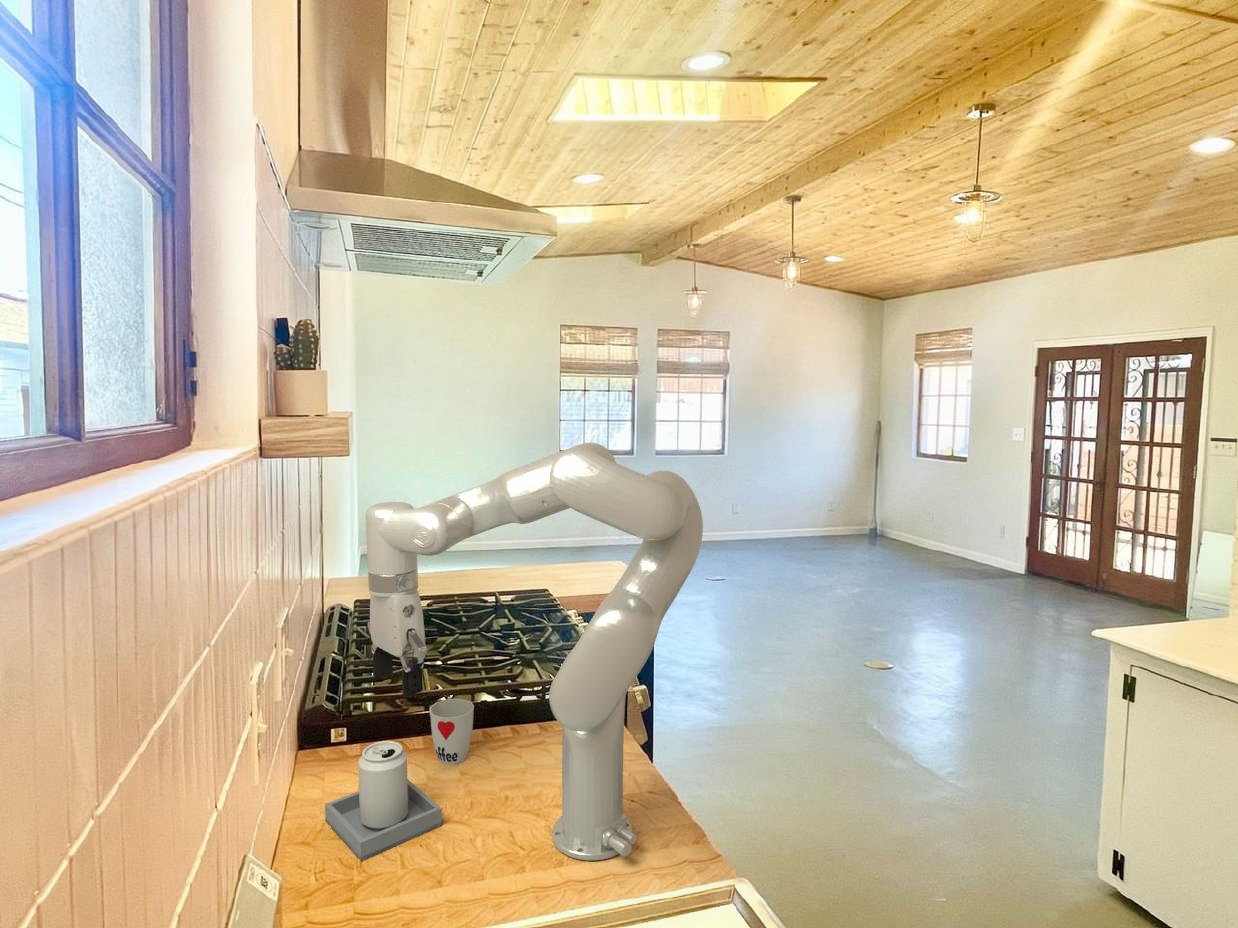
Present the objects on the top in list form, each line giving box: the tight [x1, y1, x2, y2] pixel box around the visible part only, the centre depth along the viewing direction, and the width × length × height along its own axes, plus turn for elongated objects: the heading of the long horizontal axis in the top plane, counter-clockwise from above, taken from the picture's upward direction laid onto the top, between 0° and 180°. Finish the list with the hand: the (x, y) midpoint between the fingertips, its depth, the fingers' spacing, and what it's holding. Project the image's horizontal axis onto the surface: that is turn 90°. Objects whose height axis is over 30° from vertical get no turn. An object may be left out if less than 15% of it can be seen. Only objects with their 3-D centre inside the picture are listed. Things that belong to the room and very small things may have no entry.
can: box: [357, 740, 408, 830], centre depth 121 cm, size 8×8×12 cm
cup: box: [429, 698, 475, 766], centre depth 142 cm, size 8×8×10 cm
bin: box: [324, 778, 443, 862], centre depth 121 cm, size 14×14×3 cm
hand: (397, 684), depth 121 cm, fingers open, 9 cm apart
